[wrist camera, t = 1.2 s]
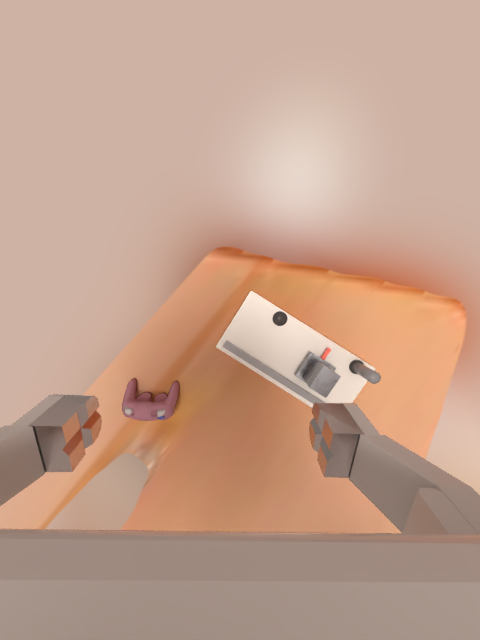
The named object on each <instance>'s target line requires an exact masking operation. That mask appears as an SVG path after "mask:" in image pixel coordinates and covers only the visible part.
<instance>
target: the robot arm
mask: <svg viewBox="0 0 480 640" xmlns="http://www.w3.org/2000/svg"><path fill="white" fill-rule="evenodd" d="M98 407H99V402H98V398H96V397H95V396H82V395H58V394H54V395H49V396H48V397H47V398H45V399H44V400H43V401H42V402H40V403H39V404H38V405H37V406H35V407H34V408H32V409H31V410H30V411H29V412H27V413H26V414H25V415H24V416H22V417H21V418H20V419H18V420H17V421H16V422H15V423H13V424H12V425H11V426H4V427H1V428H0V506H1V505H2V504H4V503H5V502H7V501H8V500H9V499H11V498H12V497H14V496H15V495H16V494H18V493H19V492H20V491H22V490H23V489H25V488H26V487H27V486H29V485H30V484H32V483H33V482H34V481H36V480H37V479H38V478H40V477H41V476H43V475H44V474H45V472H73V470H74V469H75V468H76V466H77V465H78V464H79V462H80V461H81V460H82V458H83V457H84V455H85V448H87V447H88V446H90V445H92V444H93V443H94V442H95V440H96V439H97V437H98V435H99V433H100V430H101V424H102V420H101V416H100V415H99V413H98V412H97V411H96V410H97V408H98ZM312 413H313V415H314V418H313V419H312V420H311V421H310V427H309V433H310V440H311V444H312V447H313V449H314V450H316V451H317V452H318V458H317V460H318V462H319V465H320V467H321V470H322V473H323V475H324V477H339V478H349V480H350V481H351V482H352V483H353V484H354V485H355V486H356V487H357V488H358V489H359V490H360V491H361V492H362V493H363V494H364V495H365V496H366V497H367V498H368V499H369V500H370V501H371V502H372V503H373V504H374V505H375V506H376V507H377V508H378V509H379V510H380V511H381V512H382V513H383V514H384V515H385V516H386V517H387V518H388V519H389V520H390V521H391V522H392V523H393V524H394V525H395V526H396V527H397V528H398V529H399V530H400V531H401V532H402V534H389V533H307V532H224V531H137V530H58V529H56V530H55V529H0V640H480V495H479V494H477V492H476V491H474V489H473V488H471V487H470V486H468V485H467V484H465V483H463V482H461V481H460V480H458V479H457V478H455V477H453V476H452V475H450V474H448V473H447V472H445V471H443V470H442V469H440V468H438V467H437V466H435V465H433V464H432V463H430V462H429V461H427V460H425V459H424V458H422V457H420V456H419V455H417V454H415V453H414V452H412V451H410V450H409V449H407V448H405V447H404V446H402V445H400V444H399V443H397V442H395V441H394V440H392V439H390V438H389V437H387V436H385V435H380V434H379V433H378V431H377V430H376V429H375V427H374V426H373V425H372V424H371V422H370V421H369V420H368V418H367V417H366V416H365V415H364V413H363V412H362V411H361V409H360V408H359V407H358V405H357V404H355V403H314V405H313V408H312Z"/></svg>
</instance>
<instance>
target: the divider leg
mask: <svg viewBox="0 0 480 640" xmlns="http://www.w3.org/2000/svg"><path fill="white" fill-rule="evenodd" d="M330 351H331V349H330V348H327V349H326V351H325V352H324V354H323V355H322V357H321V358H320V357H319V356H317V355H316V354H314V353H312V352H311V351H310V352H309V353H308V355H307V356H306V358H305V359H304V361H303V362H302V364H301V365H300V367H299V368H298V370H297V371H296V373H295V374H294V375H295V376H296V377H297V378H299V379H301V380H302V381H304V382H305V383H306V384H307V385H308V387H309V388H310V389H312V390H314V391H315V392H317V393H318V394H320V395H322V396H323V397H325V398H326V397H327V396H328V395H329V393H330V392H331V390H332V389H333V387H334V386H335V385H336V383H337V382H338V380H339V379H340V377H341V376H340V375H338V374H337V373H336V372H335V369H336V367H334V366H333V365H331V364H330V363H328V362H327V361H325V358H326V357H327V355H328V354H329V352H330Z"/></svg>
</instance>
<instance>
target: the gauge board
mask: <svg viewBox="0 0 480 640" xmlns="http://www.w3.org/2000/svg"><path fill="white" fill-rule="evenodd" d="M216 347H217V348H218V349H220V350H221V351H223V352H224V353H226V354H228V355H229V356H231V357H232V358H234V359H236V360H237V361H239V362H240V363H242V364H244V365H245V366H247V367H248V368H250V369H251V370H253V371H255V372H256V373H258V374H259V375H261V376H263V377H264V378H266V379H267V380H269V381H270V382H272V383H274V384H275V385H277V386H278V387H280V388H282V389H283V390H285V391H286V392H288V393H290V394H291V395H293V396H294V397H296V398H297V399H299V400H301V401H302V402H304V403H305V404H307V405H309V406H310V407H312V408H313V405H314V403H352V402H353V401H354V399H355V398H356V396H357V395H358V393H359V392H360V391H361V389H362V388H363V386H364V385H365V384H366V382H367V381H369V382H371V383H373V384H376V383H378V382H379V381H380V379H381V377H380V374H379V373H377V372H375V368H374V367H372V366H370V365H369V364H367V363H366V362H364V361H363V360H361V359H359V358H358V357H356V356H355V355H353V354H351V353H350V352H348V351H347V350H345V349H343V348H342V347H340V346H339V345H337V344H335V343H334V342H332V341H331V340H329V339H328V338H326V337H324V336H323V335H321V334H320V333H318V332H316V331H315V330H313V329H312V328H310V327H308V326H307V325H305V324H304V323H302V322H300V321H299V320H297V319H296V318H294V317H292V316H291V315H289V314H288V313H286V312H285V311H283V310H281V309H280V308H278V307H277V306H275V305H273V304H272V303H270V302H269V301H267V300H265V299H264V298H262V297H261V296H259V295H257V294H256V293H254V292H253V291H250V293H249V294H248V296H247V298H246V299H245V301H244V302H243V304H242V306H241V307H240V309H239V310H238V312H237V314H236V315H235V317H234V318H233V320H232V322H231V323H230V325H229V326H228V328H227V330H226V331H225V333H224V334H223V336H222V338H221V339H220V341H219V342H218V344H217V346H216ZM327 348H330V349H331V351H330V352H329V354H328V355H327V357H326V358H325V361H327V362H328V363H330V364H331V365H333V366H334V367H336V369H335V372H336V373H337V374H338V375H340V376H341V377H340V379H339V380H338V382H337V383H336V385H335V386H334V387H333V389H332V390H331V392H330V393H329V395H328V396H327V397H326V398H325V397H323V396H322V395H320V394H318V393H317V392H315V391H314V390H312V389H310V388H309V387H308V385H307V384H306V383H305V382H304V381H302V380H301V379H299V378H297V377H296V376H295V375H294V374H295V373H296V371H297V370H298V368H299V367H300V365H301V364H302V362H303V361H304V359H305V358H306V356H307V355H308V353H309V352H310V351H311V352H312V353H314V354H316V355H317V356H319V357H320V358H321V357H322V355H323V354H324V352H325V351H326V349H327Z"/></svg>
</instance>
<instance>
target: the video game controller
mask: <svg viewBox="0 0 480 640" xmlns="http://www.w3.org/2000/svg"><path fill="white" fill-rule="evenodd" d="M136 385H137V383H136V380H135V379H132V380H131V381H130V382H129V383H128V385H127V389H126V392H125V395H124V399H123V403H122V411H123V414H124V415H125V416H126V417H130V418H132V419H136V420H142V421H151V420H158V419H160V420H165V419H168V418H170V417H171V416H172V415H173V413H174V407H175V405H176V402H177V398H178V392H179V384H178V382H177V381H175V382H174V383H173V384H172V386H171V388H170V391H169V394H168V397H167V395H166V394H164V393H161V394H158V395H157V396H156V397H155V402H151V394H150V393H148V392H145V393H142V394H141V395H140V396H138V397H136Z"/></svg>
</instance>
